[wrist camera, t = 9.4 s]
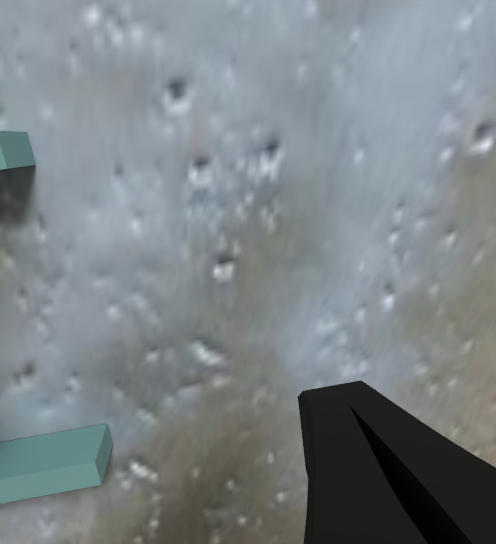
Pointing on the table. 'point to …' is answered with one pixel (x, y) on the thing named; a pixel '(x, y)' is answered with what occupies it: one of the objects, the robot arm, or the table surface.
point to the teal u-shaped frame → (57, 446)
